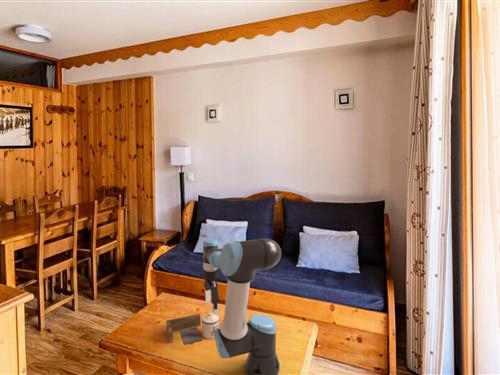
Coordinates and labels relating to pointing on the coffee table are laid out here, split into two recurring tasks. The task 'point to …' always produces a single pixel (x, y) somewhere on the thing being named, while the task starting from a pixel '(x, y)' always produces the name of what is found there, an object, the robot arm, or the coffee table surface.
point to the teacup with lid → (209, 325)
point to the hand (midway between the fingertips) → (211, 307)
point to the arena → (183, 323)
